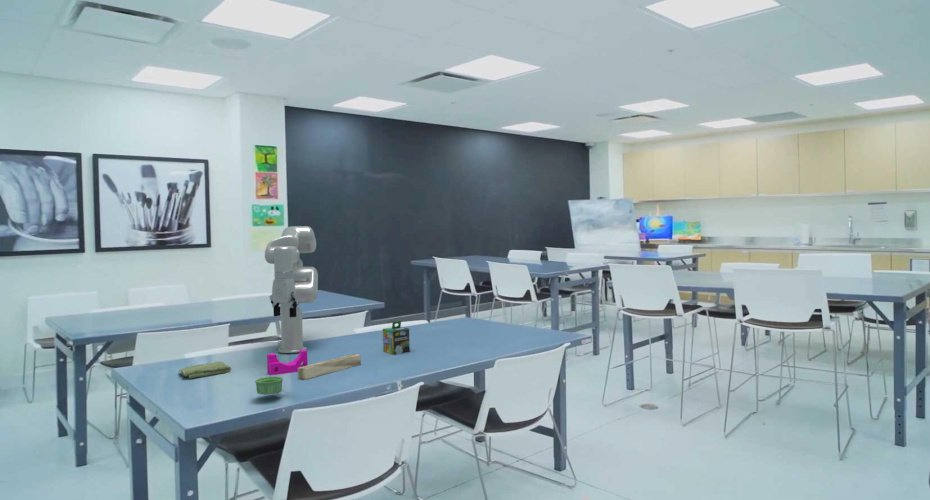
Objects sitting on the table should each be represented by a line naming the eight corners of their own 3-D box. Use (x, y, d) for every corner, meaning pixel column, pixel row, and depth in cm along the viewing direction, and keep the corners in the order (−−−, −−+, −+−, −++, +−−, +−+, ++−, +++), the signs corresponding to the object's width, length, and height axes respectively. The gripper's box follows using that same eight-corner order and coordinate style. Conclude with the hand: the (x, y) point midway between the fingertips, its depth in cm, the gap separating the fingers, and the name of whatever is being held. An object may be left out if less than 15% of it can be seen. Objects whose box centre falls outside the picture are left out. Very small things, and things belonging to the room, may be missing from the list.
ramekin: (266, 388, 202) (266, 375, 202) (288, 389, 199) (288, 376, 199) (249, 394, 193) (249, 381, 193) (272, 396, 190) (272, 382, 190)
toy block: (271, 375, 221) (270, 356, 221) (267, 372, 227) (266, 354, 227) (309, 370, 229) (308, 351, 229) (305, 367, 235) (304, 349, 234)
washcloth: (177, 374, 229) (177, 366, 229) (223, 367, 240) (223, 360, 240) (184, 380, 218) (184, 371, 218) (232, 372, 229) (232, 364, 229)
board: (298, 378, 215) (297, 367, 214) (353, 363, 240) (353, 353, 240) (305, 379, 212) (305, 369, 212) (360, 364, 238) (360, 354, 238)
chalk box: (399, 350, 267) (398, 319, 267) (410, 353, 260) (409, 320, 260) (382, 353, 261) (381, 321, 261) (393, 356, 254) (392, 322, 254)
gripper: (262, 276, 241) (263, 316, 242) (291, 276, 232) (292, 318, 233) (277, 275, 248) (278, 314, 248) (305, 275, 239) (306, 316, 239)
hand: (285, 316), depth 240 cm, fingers open, 9 cm apart
